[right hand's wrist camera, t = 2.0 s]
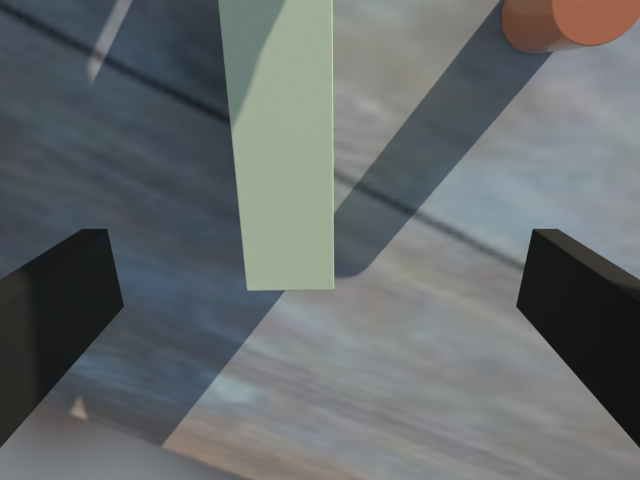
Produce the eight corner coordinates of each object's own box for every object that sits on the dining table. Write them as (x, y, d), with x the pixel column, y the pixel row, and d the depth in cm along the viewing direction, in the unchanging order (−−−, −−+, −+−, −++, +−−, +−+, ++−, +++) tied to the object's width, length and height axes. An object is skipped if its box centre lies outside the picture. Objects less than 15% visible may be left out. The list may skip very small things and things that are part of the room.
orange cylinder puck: (571, 53, 26) (639, 45, 20) (495, 55, 26) (542, 47, 20) (589, -37, 24) (669, -73, 19) (507, -35, 24) (562, -70, 19)
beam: (330, 234, 31) (334, 289, 22) (267, 235, 31) (246, 291, 22) (327, -217, 21) (330, -413, 13) (234, -215, 21) (177, -408, 13)
